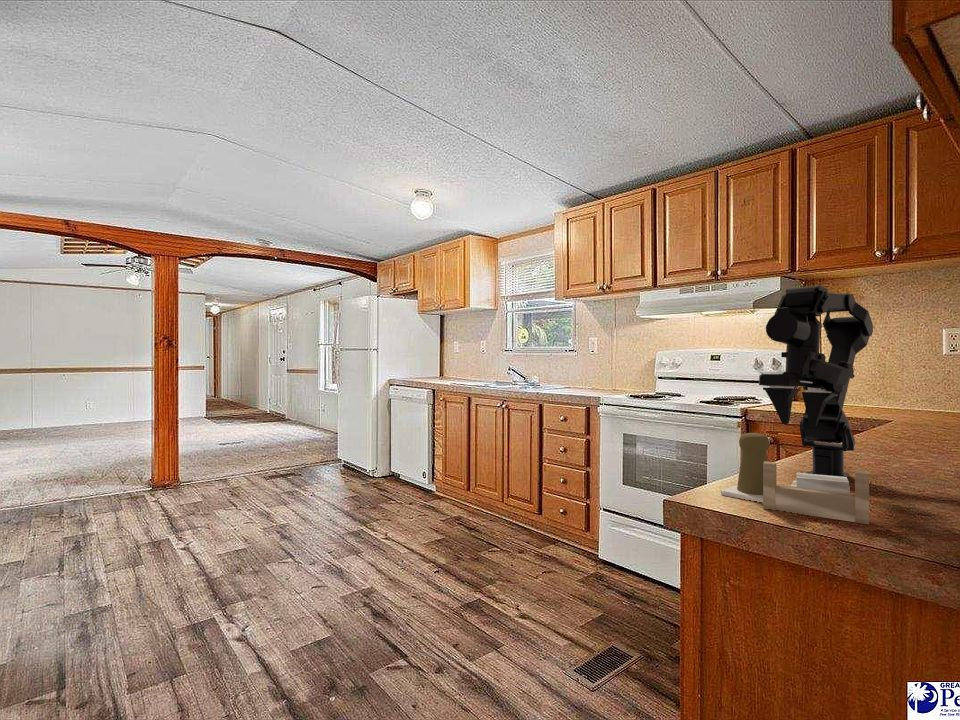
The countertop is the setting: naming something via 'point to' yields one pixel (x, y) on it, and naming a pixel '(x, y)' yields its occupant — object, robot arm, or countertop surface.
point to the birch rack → (817, 498)
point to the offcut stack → (822, 483)
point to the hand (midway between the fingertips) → (799, 425)
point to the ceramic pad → (741, 494)
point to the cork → (752, 462)
